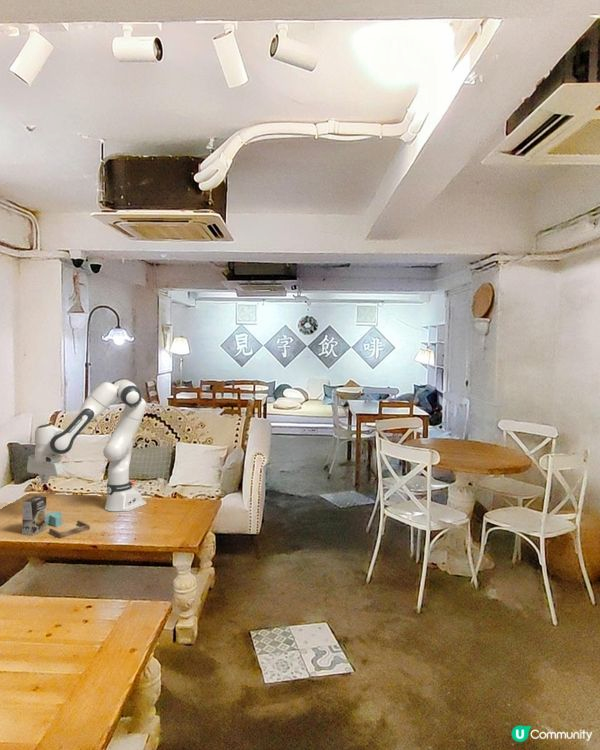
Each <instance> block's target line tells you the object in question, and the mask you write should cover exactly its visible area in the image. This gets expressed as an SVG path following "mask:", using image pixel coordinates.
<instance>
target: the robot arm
mask: <svg viewBox="0 0 600 750" xmlns="http://www.w3.org/2000/svg"><path fill="white" fill-rule="evenodd" d="M117 400H120V401H121V402H122V403H123V404H124V405H125V406H124V408H123V411H122V412H121V414H120V418H119V420H118V422H117V425H116V426H115V427H114V430H113V431H112V434H111V435H110V437H109V438H108V440H107V443H106V444H105V445H104V448H103V450H102V451H103V456H104V457H105V459H106V460H109V465H108V467H107V483H106V493H107V494H106V502H105V506H104V510H105V511H109V512H129V511H132V510H135V509H137V508H140V507H142V506H145V505H147V501H146V500H144V499H143V497H142V496H143V494H141V492H140V491H138V489H136V488H134V486H135V485H136V481H130V464H131V460H132V459H131V457H132V451H133V446H134V441H133V439H134V437H135V435H136V434H137V431H138V430H139V428H140V425H141V423H142V420H143V418H144V415H145V413H146V407H147V401H146V400H145V399H144V398H143V397H142V392H141V390H140V389H139V387H138V386H137V385H136V384H135V383H134V382H132V381H131V379H128V378H126V377H125V378H124V377H123V378H118V379H116V380H114V381H112V382H109V381H104V382H103V383H102V382H101V384H100V385H98V386H97V387H95V389H94V390H93V391H91V392H90V394H89V395H88V396H87V397H86V398H85V400H84V401H83V403H82V405H81V407H80V410H79V412H78V414H77V415H76V417H75V418H74V419H73V420H72V421H71V423H70V424H69V425H68V426H67V427H66V428H65V429H63V428H59V427H57V426H55V425H53V423H52V424H51V423H44V424H41V425H39V426H37V427H36V428H35V431H34V447H35V448H34V454H30V455H29V456H28V460H27V464H26V471H27V473H30V474H35V475H38V476H39V479H40V483H41V484H48V483H49V479H50V478H51V477H60V476H62V474H63V473H64V472H63V469H64V468H63V462H62V460H63V456H62V455H64V454H66V453H68V452H69V451H71V449H72V448H73V445H74V441H75V440H76V438H77V437H78V436H79V435H80V433H81V432H82V431H83V430H84V429H85V428H86V427H87V425H88V424H90V423H91V422H92V421H94V420H95V419H97V418H98V417H99V416H100V415H101V414H103V413H104V412H105V411H106V410H107V408H108V407H109V406H111V403H113V402H114V401H117Z"/></svg>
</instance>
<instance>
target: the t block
mask: <svg viewBox="0 0 600 750" xmlns="http://www.w3.org/2000/svg"><path fill="white" fill-rule="evenodd" d="M62 523H63V516H62V511H59V510H56V511H53V512H50V513H49V512H48V513H46V526H47V525H51V526H53V527H54V528H57V527H61V526H62V525H63V524H62Z"/></svg>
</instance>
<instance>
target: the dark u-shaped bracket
mask: <svg viewBox="0 0 600 750" xmlns="http://www.w3.org/2000/svg"><path fill="white" fill-rule="evenodd" d="M76 524H77V526H78V527H75V528H70V529H69V530H65V531H62V532H60V531H58V530H56V529H53V528H49V529H48V531H49V534H51V535H52V536H54V537H56V538H58V539H62V538H65V537H70V536H72V535H76V534H78V533H79V534H80V533H81V532H85V531H88V530H91V525H90V524H88V523H85V522H83V521H81V520H77V521H76Z"/></svg>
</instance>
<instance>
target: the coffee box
mask: <svg viewBox="0 0 600 750" xmlns="http://www.w3.org/2000/svg"><path fill="white" fill-rule="evenodd" d="M21 508H22V509H21V510H22V517H21V518H22V528H21V530H22V531H21V533H22V535H27V536H35V535H37V534H39V533H41V532H43V531H45V530H47V525H46V514H47V496H40V495H39V496H38V495H35V496H32V497H30V498H27V499H25V500H22V507H21Z"/></svg>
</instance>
